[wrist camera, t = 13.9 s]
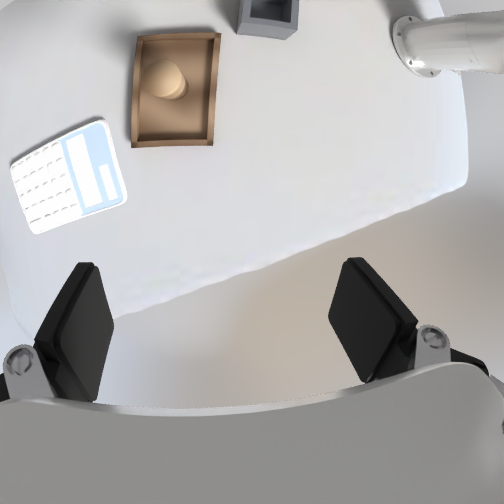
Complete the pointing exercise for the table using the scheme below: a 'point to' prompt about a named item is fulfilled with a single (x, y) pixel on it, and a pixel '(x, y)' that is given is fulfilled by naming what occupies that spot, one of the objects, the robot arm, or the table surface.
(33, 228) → the calculator
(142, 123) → the tray
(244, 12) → the pen cup
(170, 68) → the dowel
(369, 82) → the table surface
